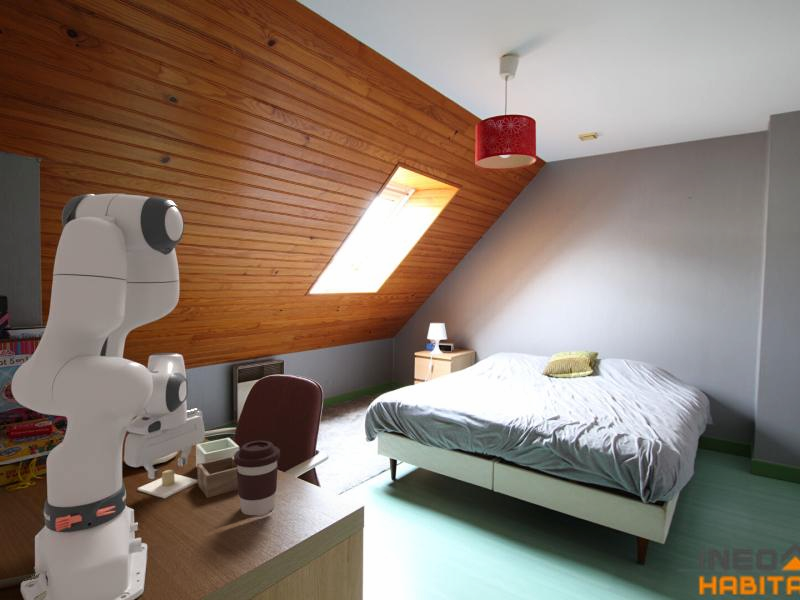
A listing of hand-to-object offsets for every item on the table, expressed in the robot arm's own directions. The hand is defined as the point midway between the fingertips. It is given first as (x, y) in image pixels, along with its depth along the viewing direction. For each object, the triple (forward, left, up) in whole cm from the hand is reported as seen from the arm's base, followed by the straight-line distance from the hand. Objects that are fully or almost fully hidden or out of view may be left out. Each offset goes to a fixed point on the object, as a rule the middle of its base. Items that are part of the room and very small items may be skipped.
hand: (168, 471), depth 113 cm
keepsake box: (-8, -11, -5) cm, 14 cm away
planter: (+4, -13, -5) cm, 14 cm away
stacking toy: (+24, 0, -5) cm, 25 cm away
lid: (0, 0, -4) cm, 4 cm away
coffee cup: (-24, -14, -5) cm, 28 cm away
